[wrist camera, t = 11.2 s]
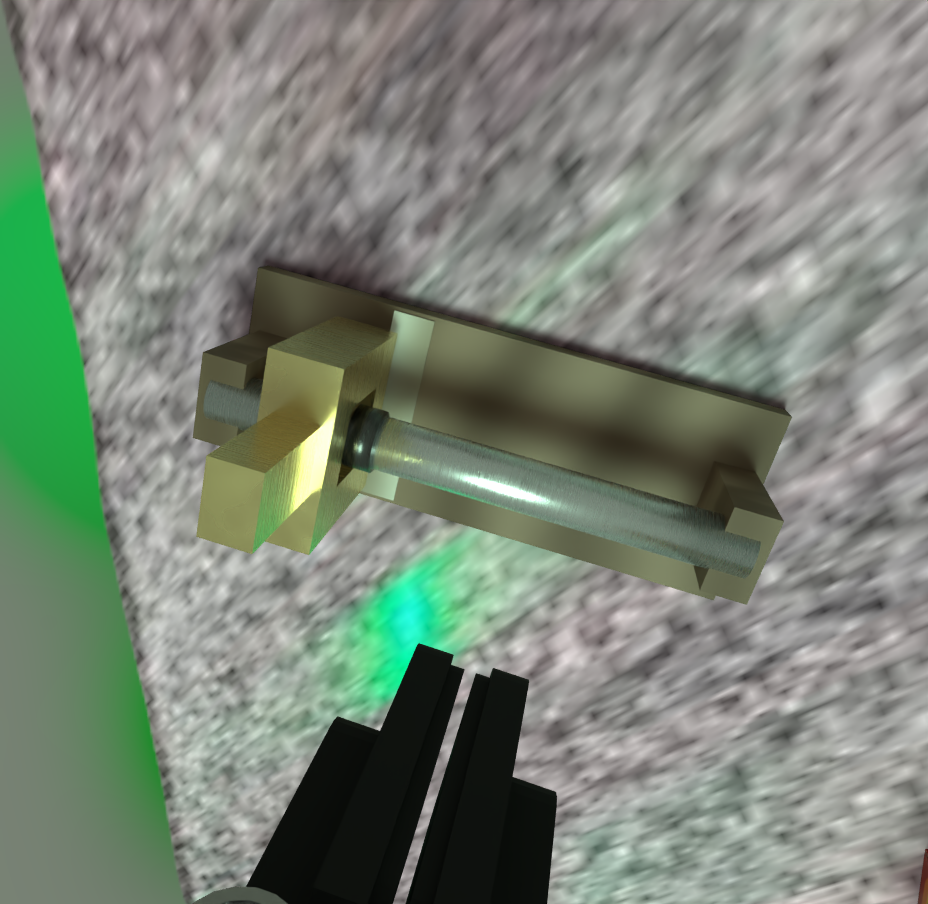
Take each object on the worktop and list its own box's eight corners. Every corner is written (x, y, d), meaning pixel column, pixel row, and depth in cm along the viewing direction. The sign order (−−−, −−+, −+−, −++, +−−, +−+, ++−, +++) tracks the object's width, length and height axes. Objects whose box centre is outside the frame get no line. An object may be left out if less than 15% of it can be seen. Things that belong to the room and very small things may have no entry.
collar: (397, 333, 35) (292, 404, 23) (365, 485, 37) (255, 620, 25) (337, 316, 35) (200, 378, 23) (309, 468, 38) (175, 594, 26)
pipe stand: (785, 410, 35) (827, 457, 28) (710, 588, 38) (732, 665, 32) (268, 265, 37) (199, 279, 31) (242, 447, 40) (175, 494, 34)
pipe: (754, 509, 32) (769, 537, 29) (731, 564, 33) (742, 596, 30) (235, 358, 34) (205, 371, 31) (227, 414, 35) (197, 432, 32)
